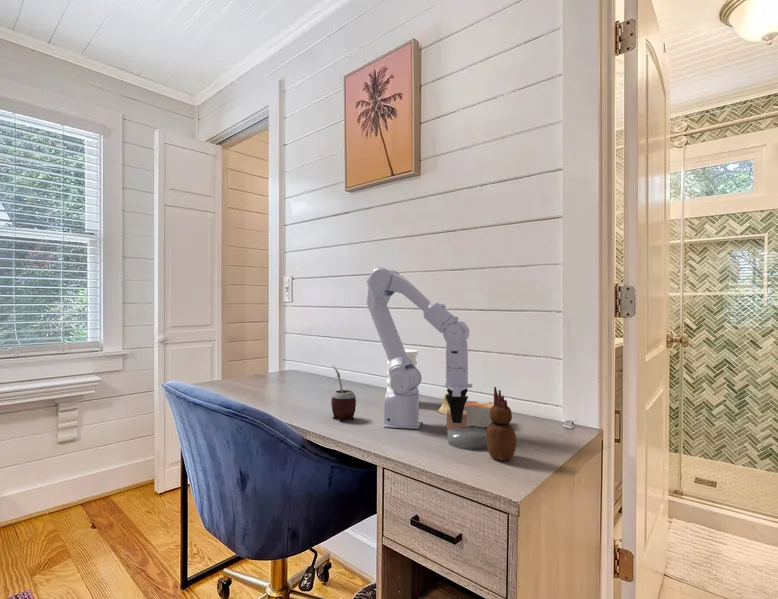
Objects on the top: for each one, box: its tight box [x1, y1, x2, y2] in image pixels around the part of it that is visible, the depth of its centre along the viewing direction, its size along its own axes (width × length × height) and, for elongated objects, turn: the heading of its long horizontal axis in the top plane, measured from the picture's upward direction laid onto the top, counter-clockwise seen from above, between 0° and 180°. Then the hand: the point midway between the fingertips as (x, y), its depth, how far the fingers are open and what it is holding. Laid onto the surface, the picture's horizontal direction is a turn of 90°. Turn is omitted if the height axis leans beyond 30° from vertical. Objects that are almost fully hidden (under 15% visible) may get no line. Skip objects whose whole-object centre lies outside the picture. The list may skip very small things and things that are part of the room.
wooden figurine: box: [486, 386, 517, 462], centre depth 92 cm, size 7×6×15 cm
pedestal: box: [447, 426, 488, 450], centre depth 103 cm, size 10×10×2 cm
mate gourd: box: [330, 365, 357, 423], centre depth 125 cm, size 8×8×15 cm
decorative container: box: [386, 348, 419, 393], centre depth 146 cm, size 12×12×18 cm
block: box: [446, 410, 467, 434], centre depth 113 cm, size 5×5×5 cm
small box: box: [464, 400, 494, 428], centre depth 120 cm, size 8×6×10 cm
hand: (457, 419), depth 113 cm, fingers open, 7 cm apart
